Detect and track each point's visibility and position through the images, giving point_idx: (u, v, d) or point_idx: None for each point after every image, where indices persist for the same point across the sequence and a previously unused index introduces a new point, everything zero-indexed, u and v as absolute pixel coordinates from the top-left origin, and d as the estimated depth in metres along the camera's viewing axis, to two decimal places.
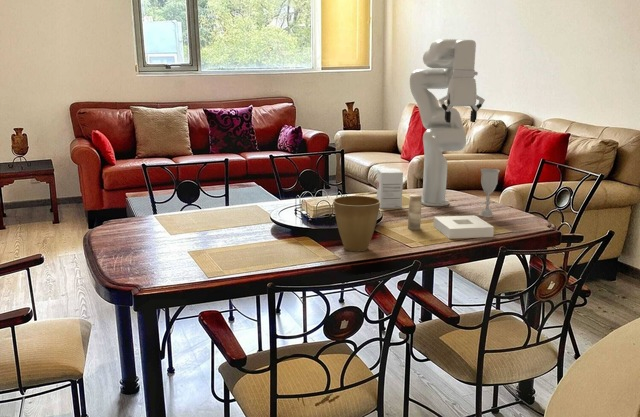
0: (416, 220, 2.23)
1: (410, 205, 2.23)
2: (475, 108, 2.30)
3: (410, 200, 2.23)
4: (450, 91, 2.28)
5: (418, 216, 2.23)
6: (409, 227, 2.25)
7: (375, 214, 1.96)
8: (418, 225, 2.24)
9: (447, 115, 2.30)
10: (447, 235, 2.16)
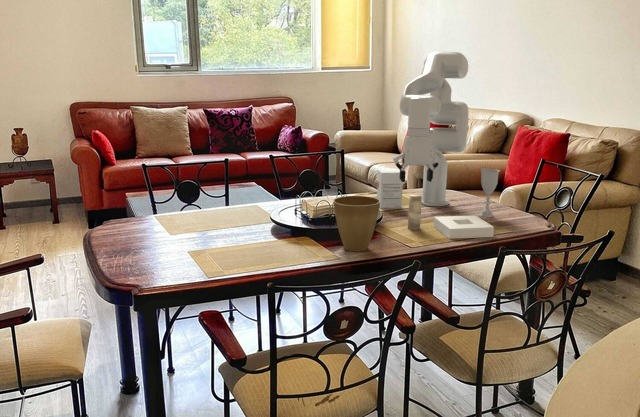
0: (416, 220, 2.23)
1: (410, 205, 2.23)
2: (431, 167, 2.20)
3: (410, 200, 2.23)
4: (404, 150, 2.17)
5: (418, 216, 2.23)
6: (409, 227, 2.25)
7: (375, 214, 1.96)
8: (418, 225, 2.24)
9: (402, 174, 2.19)
10: (447, 235, 2.16)
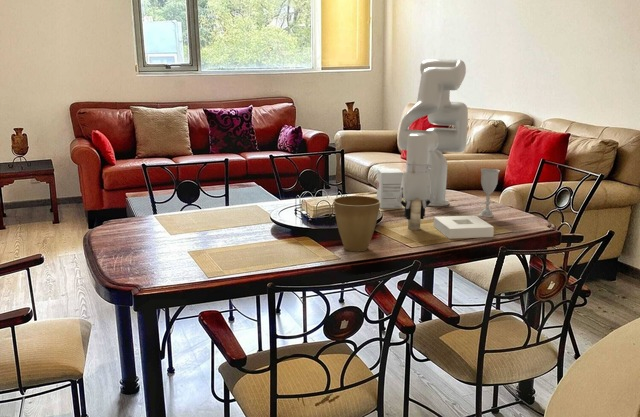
0: (416, 220, 2.23)
1: (410, 205, 2.23)
2: (424, 204, 2.23)
3: None
4: (403, 185, 2.21)
5: (418, 216, 2.23)
6: (409, 227, 2.25)
7: (375, 214, 1.96)
8: (418, 225, 2.24)
9: (407, 212, 2.24)
10: (447, 235, 2.16)
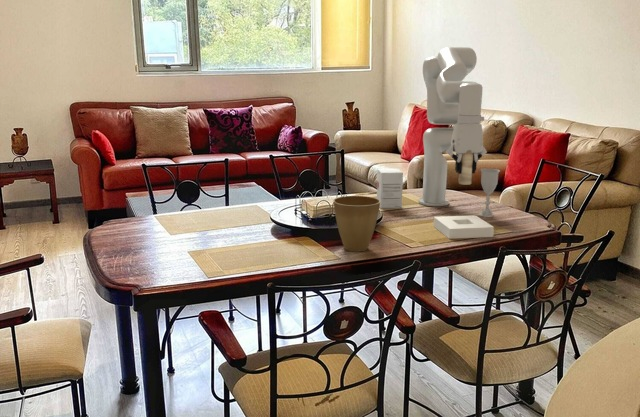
0: (467, 174, 2.16)
1: (461, 158, 2.16)
2: (476, 158, 2.16)
3: None
4: (455, 137, 2.13)
5: (470, 170, 2.16)
6: (460, 182, 2.18)
7: (375, 214, 1.96)
8: (469, 179, 2.17)
9: (458, 166, 2.16)
10: (447, 235, 2.16)
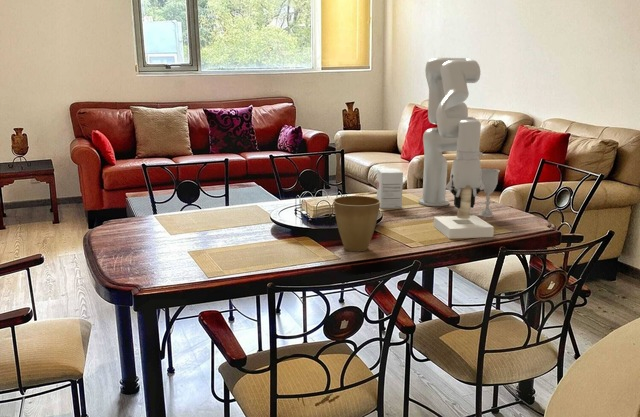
0: (466, 208, 2.19)
1: (460, 193, 2.19)
2: (474, 193, 2.19)
3: None
4: (454, 173, 2.16)
5: (468, 205, 2.19)
6: (459, 216, 2.21)
7: (375, 214, 1.96)
8: (468, 214, 2.20)
9: (456, 200, 2.19)
10: (447, 235, 2.16)
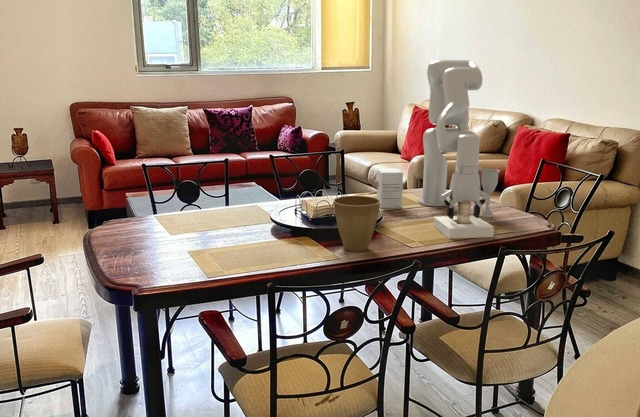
0: (465, 222, 2.20)
1: (459, 208, 2.20)
2: (478, 204, 2.20)
3: (459, 203, 2.20)
4: (453, 187, 2.18)
5: (467, 219, 2.20)
6: None
7: (375, 214, 1.96)
8: None
9: (450, 211, 2.20)
10: (447, 235, 2.16)
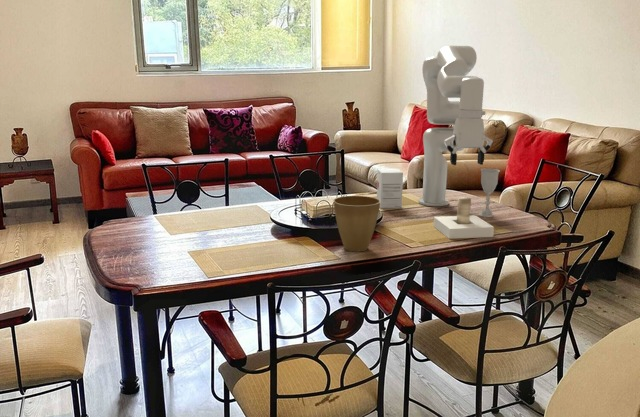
0: (465, 222, 2.20)
1: (459, 208, 2.20)
2: (483, 150, 2.16)
3: (459, 203, 2.20)
4: (456, 132, 2.13)
5: (467, 219, 2.20)
6: None
7: (375, 214, 1.96)
8: None
9: (453, 157, 2.15)
10: (447, 235, 2.16)
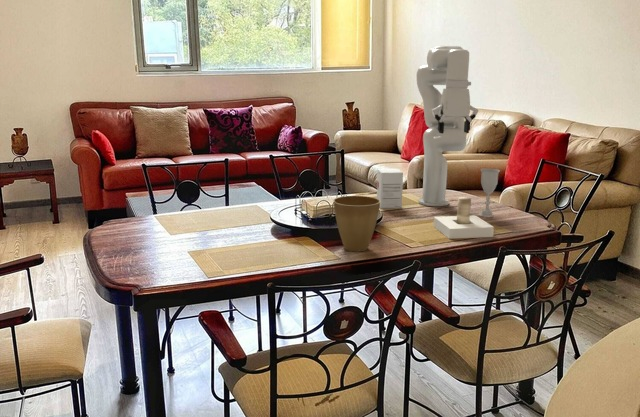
0: (465, 222, 2.20)
1: (459, 208, 2.20)
2: (469, 119, 2.27)
3: (459, 203, 2.20)
4: (443, 101, 2.24)
5: (467, 219, 2.20)
6: None
7: (375, 214, 1.96)
8: None
9: (440, 126, 2.26)
10: (447, 235, 2.16)
